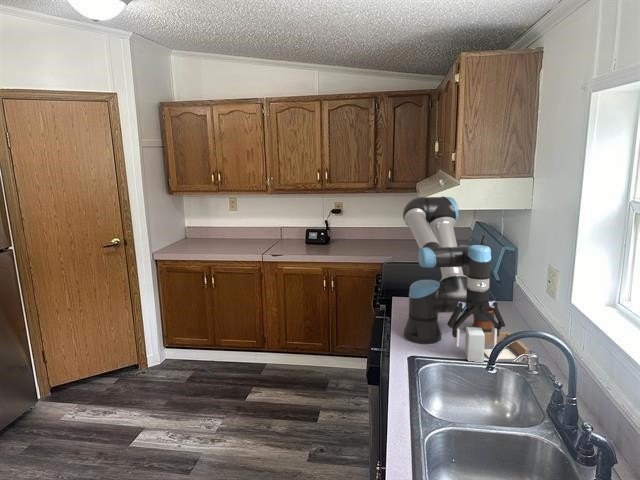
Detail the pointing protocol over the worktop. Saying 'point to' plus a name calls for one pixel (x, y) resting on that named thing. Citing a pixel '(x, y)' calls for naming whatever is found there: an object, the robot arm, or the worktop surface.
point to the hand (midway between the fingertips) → (475, 345)
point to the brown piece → (509, 351)
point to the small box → (474, 344)
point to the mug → (484, 321)
